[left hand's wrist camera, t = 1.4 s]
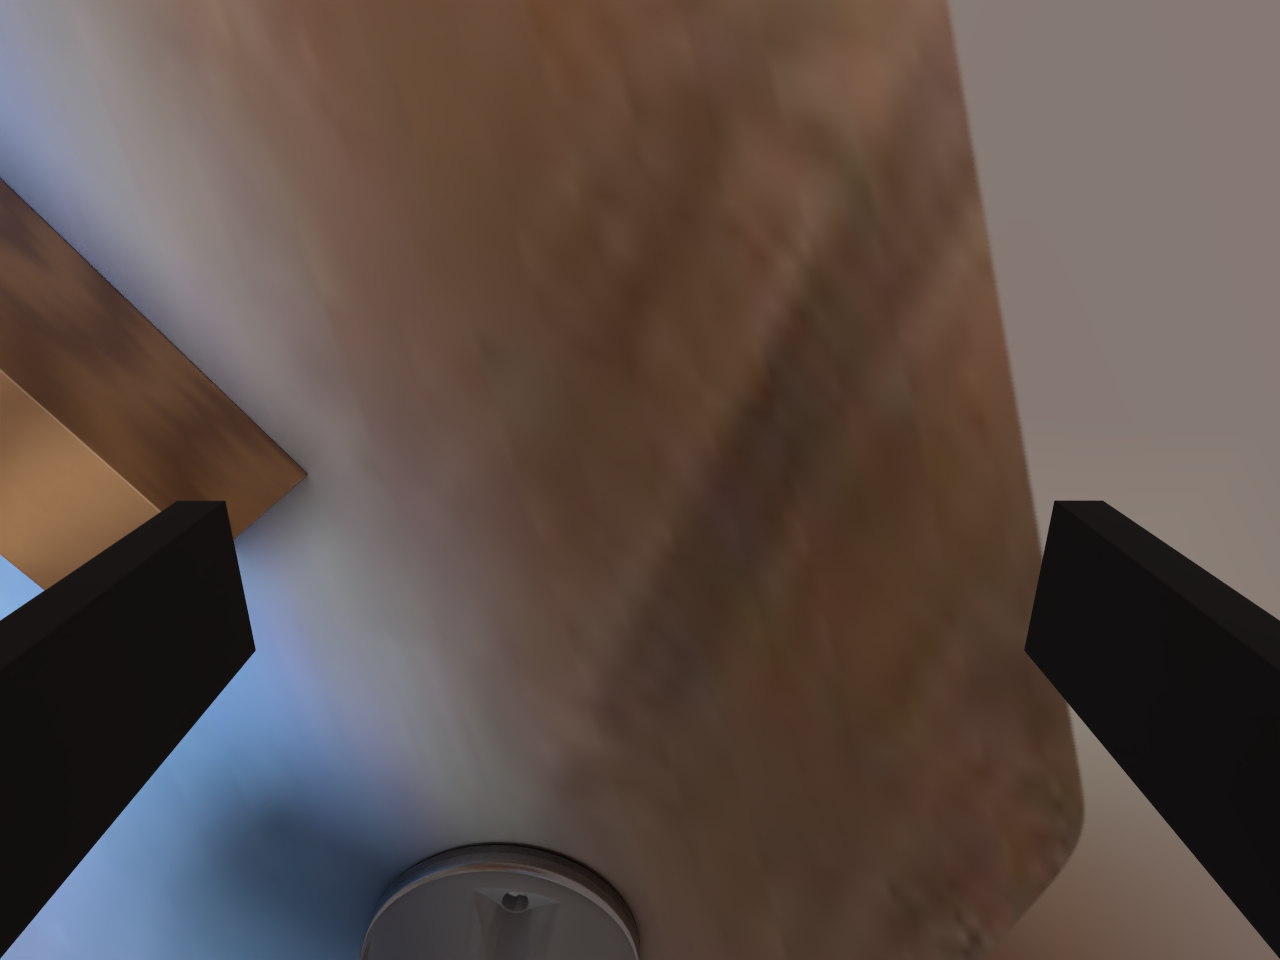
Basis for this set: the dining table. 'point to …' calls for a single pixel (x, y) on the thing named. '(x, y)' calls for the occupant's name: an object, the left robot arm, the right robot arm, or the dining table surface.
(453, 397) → the dining table surface
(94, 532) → the beam
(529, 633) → the dining table surface
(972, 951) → the dining table surface
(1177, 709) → the left robot arm
